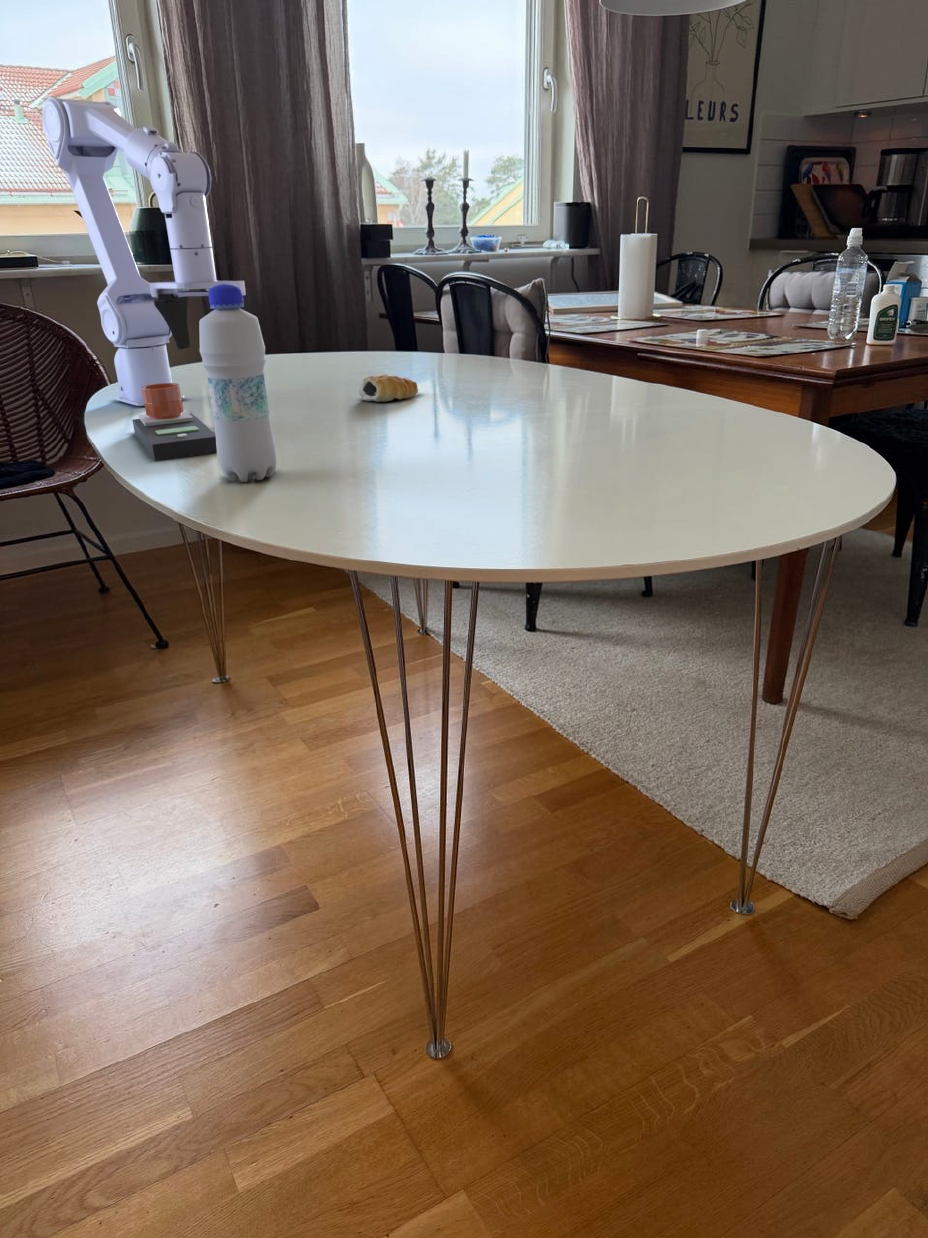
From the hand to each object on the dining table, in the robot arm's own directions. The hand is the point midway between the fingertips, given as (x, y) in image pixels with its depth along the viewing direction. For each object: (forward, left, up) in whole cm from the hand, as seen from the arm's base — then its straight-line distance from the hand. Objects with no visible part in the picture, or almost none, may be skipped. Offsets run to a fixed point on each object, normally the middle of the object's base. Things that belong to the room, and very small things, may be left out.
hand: (206, 348), depth 126 cm
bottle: (+38, -16, -10) cm, 42 cm away
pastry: (+12, +24, -10) cm, 29 cm away
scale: (+15, -14, -9) cm, 22 cm away
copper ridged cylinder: (+9, -12, -7) cm, 17 cm away
